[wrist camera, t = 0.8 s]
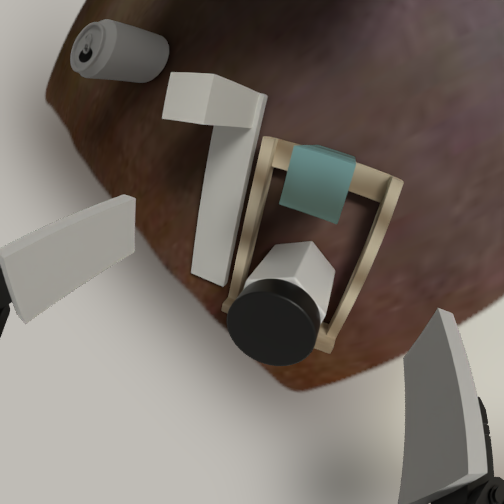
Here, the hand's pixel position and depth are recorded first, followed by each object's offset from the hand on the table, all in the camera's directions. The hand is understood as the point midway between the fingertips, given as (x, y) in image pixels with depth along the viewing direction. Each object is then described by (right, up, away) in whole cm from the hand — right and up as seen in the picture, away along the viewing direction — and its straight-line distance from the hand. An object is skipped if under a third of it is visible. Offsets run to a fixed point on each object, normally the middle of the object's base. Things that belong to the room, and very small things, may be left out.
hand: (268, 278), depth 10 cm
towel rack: (+6, +2, +21) cm, 22 cm away
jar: (+5, -1, +23) cm, 24 cm away
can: (-14, +27, +19) cm, 36 cm away
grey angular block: (-4, +8, +22) cm, 24 cm away
